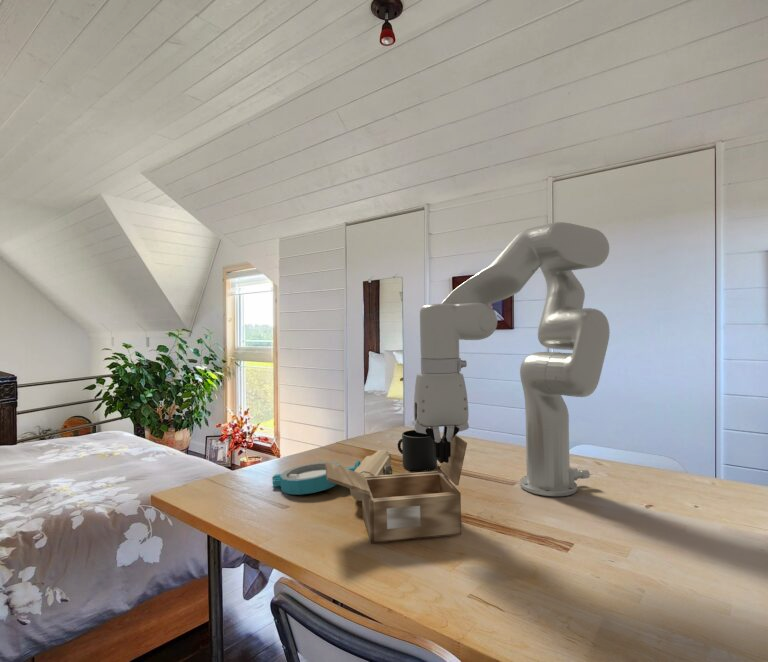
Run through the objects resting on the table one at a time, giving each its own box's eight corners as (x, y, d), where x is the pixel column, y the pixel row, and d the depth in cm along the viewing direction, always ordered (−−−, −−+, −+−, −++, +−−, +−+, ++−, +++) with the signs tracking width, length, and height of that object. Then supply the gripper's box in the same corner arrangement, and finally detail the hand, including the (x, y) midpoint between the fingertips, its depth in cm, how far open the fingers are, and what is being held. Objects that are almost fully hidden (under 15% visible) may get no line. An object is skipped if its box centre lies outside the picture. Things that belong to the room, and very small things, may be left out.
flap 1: (363, 474, 93) (326, 461, 91) (370, 491, 83) (328, 477, 82) (362, 477, 93) (325, 464, 91) (368, 494, 83) (327, 480, 82)
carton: (441, 507, 97) (440, 470, 97) (463, 536, 83) (462, 494, 83) (362, 514, 95) (361, 476, 95) (371, 546, 81) (370, 502, 81)
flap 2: (455, 485, 85) (464, 442, 86) (440, 468, 95) (448, 430, 95) (458, 485, 85) (467, 443, 86) (442, 469, 95) (450, 431, 96)
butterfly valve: (250, 517, 101) (382, 509, 95) (246, 486, 101) (378, 476, 95) (297, 478, 127) (403, 470, 122) (293, 453, 128) (399, 444, 122)
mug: (407, 458, 135) (406, 427, 135) (443, 464, 127) (442, 432, 127) (388, 466, 127) (387, 433, 127) (425, 473, 120) (424, 439, 120)
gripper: (470, 364, 95) (472, 453, 95) (398, 367, 93) (401, 458, 93) (483, 367, 87) (486, 463, 88) (406, 370, 85) (409, 469, 85)
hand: (442, 460), depth 90 cm, fingers closed
